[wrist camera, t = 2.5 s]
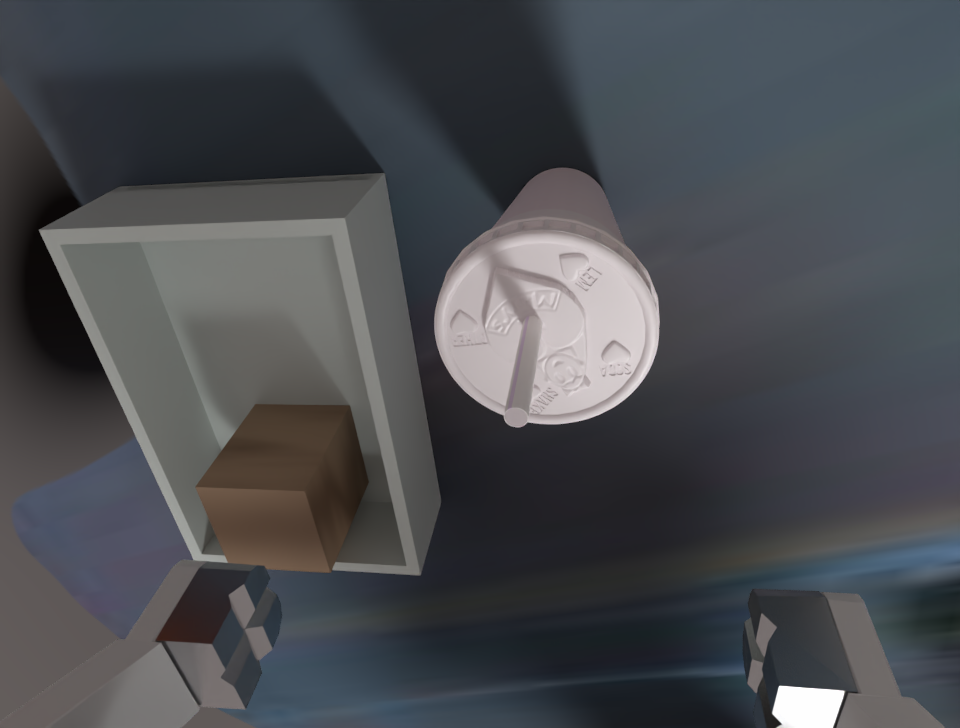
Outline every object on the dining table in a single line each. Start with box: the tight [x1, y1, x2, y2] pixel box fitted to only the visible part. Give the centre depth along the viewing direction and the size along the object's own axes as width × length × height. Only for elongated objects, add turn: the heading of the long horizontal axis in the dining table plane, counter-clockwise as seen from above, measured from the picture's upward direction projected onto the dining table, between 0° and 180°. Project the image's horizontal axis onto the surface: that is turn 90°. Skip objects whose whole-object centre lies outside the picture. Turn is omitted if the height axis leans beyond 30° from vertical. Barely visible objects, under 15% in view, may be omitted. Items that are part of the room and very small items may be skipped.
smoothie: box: [434, 168, 660, 427], centre depth 21 cm, size 6×6×14 cm
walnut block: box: [195, 404, 369, 573], centre depth 32 cm, size 5×5×6 cm
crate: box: [39, 173, 441, 575], centre depth 31 cm, size 18×12×5 cm, turn 5°
